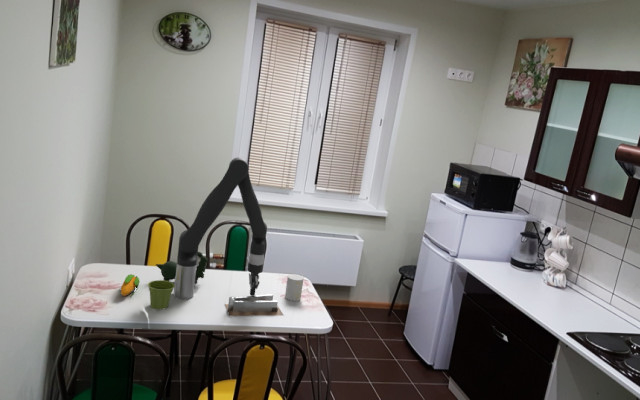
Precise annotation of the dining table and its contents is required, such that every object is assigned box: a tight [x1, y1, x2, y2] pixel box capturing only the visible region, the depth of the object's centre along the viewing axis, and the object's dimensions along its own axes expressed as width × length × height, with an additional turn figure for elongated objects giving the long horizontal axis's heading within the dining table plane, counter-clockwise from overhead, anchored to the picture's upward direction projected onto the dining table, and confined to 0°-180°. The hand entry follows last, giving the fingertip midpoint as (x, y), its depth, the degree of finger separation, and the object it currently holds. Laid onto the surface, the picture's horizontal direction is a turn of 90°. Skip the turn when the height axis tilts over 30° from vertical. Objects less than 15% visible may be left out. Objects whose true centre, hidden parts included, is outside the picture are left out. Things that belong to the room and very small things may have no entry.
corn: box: [120, 274, 140, 297], centre depth 259 cm, size 7×8×20 cm
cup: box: [284, 274, 305, 302], centre depth 280 cm, size 8×8×12 cm
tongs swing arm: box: [234, 293, 274, 301], centre depth 262 cm, size 20×2×5 cm, turn 122°
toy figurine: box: [155, 251, 208, 285], centre depth 279 cm, size 9×19×25 cm
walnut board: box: [224, 303, 284, 317], centre depth 259 cm, size 26×13×1 cm, turn 110°
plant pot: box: [147, 279, 175, 310], centre depth 247 cm, size 12×12×11 cm
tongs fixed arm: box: [228, 296, 279, 312], centre depth 258 cm, size 24×4×6 cm, turn 110°
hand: (252, 295), depth 269 cm, fingers closed
